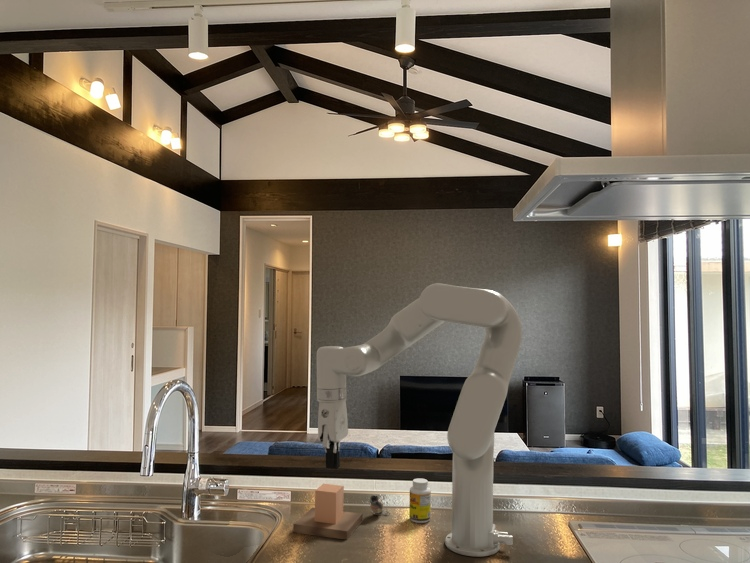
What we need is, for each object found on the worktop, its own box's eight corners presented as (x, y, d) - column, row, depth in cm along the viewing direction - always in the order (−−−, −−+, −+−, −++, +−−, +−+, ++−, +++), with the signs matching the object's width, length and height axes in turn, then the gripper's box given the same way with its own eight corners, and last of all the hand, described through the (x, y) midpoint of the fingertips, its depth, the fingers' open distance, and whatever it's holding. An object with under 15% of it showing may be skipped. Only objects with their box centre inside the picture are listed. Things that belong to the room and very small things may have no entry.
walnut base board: (362, 521, 143) (362, 513, 144) (347, 539, 132) (347, 531, 132) (312, 515, 147) (312, 507, 147) (293, 532, 136) (293, 523, 136)
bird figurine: (381, 522, 143) (379, 498, 144) (363, 519, 146) (361, 496, 147) (390, 515, 148) (389, 492, 149) (373, 513, 151) (372, 490, 151)
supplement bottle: (406, 517, 147) (406, 478, 148) (425, 515, 149) (426, 476, 149) (413, 525, 142) (414, 484, 142) (433, 522, 143) (434, 482, 144)
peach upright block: (343, 516, 142) (343, 485, 142) (335, 524, 136) (336, 492, 137) (322, 513, 143) (323, 483, 144) (314, 521, 138) (315, 490, 138)
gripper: (335, 399, 133) (336, 477, 132) (354, 391, 148) (356, 461, 146) (306, 398, 135) (307, 475, 134) (328, 390, 150) (329, 459, 148)
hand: (332, 467), depth 140 cm, fingers closed
